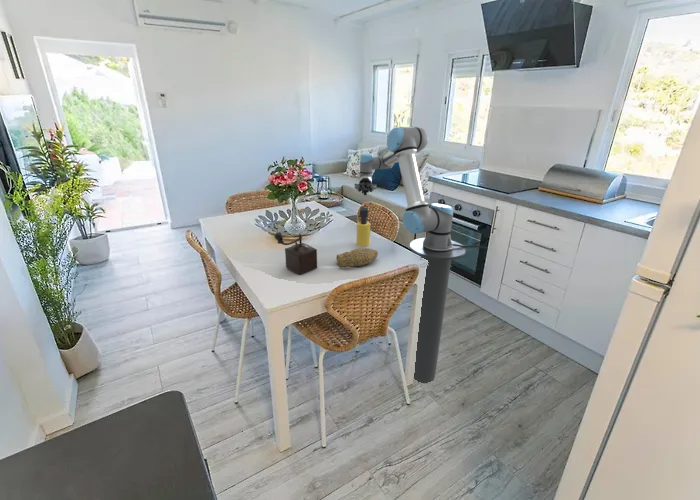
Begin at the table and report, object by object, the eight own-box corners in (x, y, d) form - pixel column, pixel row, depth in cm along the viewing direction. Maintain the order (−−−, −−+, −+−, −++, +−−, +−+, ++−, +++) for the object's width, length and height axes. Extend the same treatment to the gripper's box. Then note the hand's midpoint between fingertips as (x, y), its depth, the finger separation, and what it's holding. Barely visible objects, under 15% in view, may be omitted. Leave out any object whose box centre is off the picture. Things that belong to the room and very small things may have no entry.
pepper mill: (302, 260, 164) (301, 224, 157) (317, 267, 157) (317, 230, 150) (275, 270, 154) (271, 232, 147) (289, 279, 147) (287, 239, 140)
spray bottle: (369, 242, 189) (371, 207, 182) (369, 247, 182) (371, 211, 174) (356, 241, 189) (357, 206, 182) (356, 247, 182) (357, 210, 175)
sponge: (339, 273, 156) (383, 263, 157) (336, 257, 154) (379, 246, 155) (337, 265, 168) (377, 256, 169) (334, 250, 166) (374, 240, 168)
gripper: (376, 189, 208) (377, 200, 186) (354, 189, 208) (352, 199, 186) (376, 177, 205) (377, 186, 183) (354, 176, 205) (353, 185, 184)
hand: (365, 192), depth 185 cm, fingers closed
